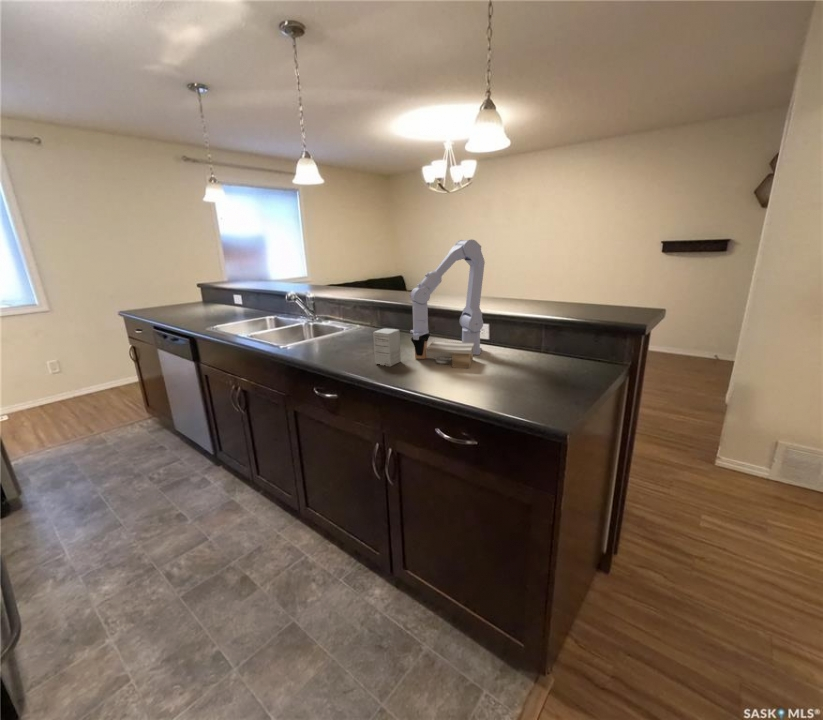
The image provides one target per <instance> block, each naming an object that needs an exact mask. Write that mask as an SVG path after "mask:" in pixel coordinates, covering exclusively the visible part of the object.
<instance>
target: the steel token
mask: <svg viewBox="0 0 823 720" xmlns="http://www.w3.org/2000/svg"><path fill="white" fill-rule="evenodd" d="M434 359H435V363H436V364H438V365H448V364H451V363H452V359H451V358H450V357H437V358H434Z"/></svg>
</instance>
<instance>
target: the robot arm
mask: <svg viewBox="0 0 823 720" xmlns="http://www.w3.org/2000/svg"><path fill="white" fill-rule="evenodd" d="M461 260H464V261H465V262H466V263H467V264H468V265H469V271H468V272H469V274H468V281H467V282H468V283H467V291H466V299H465V300H466V303H465V306H464V308H463V309H462V313H461V315H460V317H459V325H460V326H461V327H462V329H461V343H474V348H473V356H474V355H475V356H476V355H477V356H479V355H481V352H482V349H483V348H482V347H481V330H482V329H483V327H484V320H483V312H482V309H481V308H480V307H481V297H482V290H483V280H484V270H485V263H486V262H485V259H484V255H483V251H482V245H481V244H480V243H479V242H478V241H477V240H475V239H459V240H458V241H457V242H455V244H454V245H453V246H452V247H450V250H449V252H448V253H447V254H446V256H445V257H444V258H443V259H442V261H441V262H440V263H439V265H438V266H437V267H436V269H435V270H431V271H429V272H426V273H425V274H424V276H425V277H423V279H422V280H421V281H420V282H419V283H417V285H416V286H417V287H414V288H413V289H412V290H411V291H410V292H411V293H410V295H409V298H410V300H411V301H412V329H410V331H409V332H410V334H411V333H412V336H411V338H410V340H411V342H412V344H413V347H414V351H415V350H416V354H417V355H418V356H422V355H423V348H424V343H425V341H427V342H428V341H429V339H430V336H431V334H430V333H429V332H430V331H429V317H428V316H429V314H428V313H429V311H428V302H429V301H430V299H431V295H432V293H434V291H435V290H436V289H437V287H438V286H440V284H441V283H442V280H443V279H442V276H443V275H445V273H446V272H447V271H448V270H449V269H451V267H452V266H453V265H454V264H455V263H456V262H457V261H461Z"/></svg>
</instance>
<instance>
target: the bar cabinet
mask: <svg viewBox="0 0 823 720" xmlns="http://www.w3.org/2000/svg"><path fill="white" fill-rule="evenodd" d="M473 348H474V343H462V342H459V341H457V342H456V341H455V342H453V341H452V342H451V341H432V342H431V343H430V344H429V345H427V349H426V352H439V353H452V359H451V363H452V366H451V367H452V368H454V369H470V367H471V365H472V363H473V360H474V358H473V357H474V355H473Z"/></svg>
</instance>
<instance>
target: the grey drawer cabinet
mask: <svg viewBox="0 0 823 720" xmlns="http://www.w3.org/2000/svg"><path fill="white" fill-rule="evenodd" d="M372 334H373V335H372V338H373V351H374V353H373V354H374V363H375V365H377V364H380V365H379V366H384V365H386V367H392V366H394V365H396V364H398V363H401V362H402V360H401V359H402V357H401V337H400V329H397V328H396V329H395V328H387V327H385V328H380V329H378V330H375V331H373V332H372Z"/></svg>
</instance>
